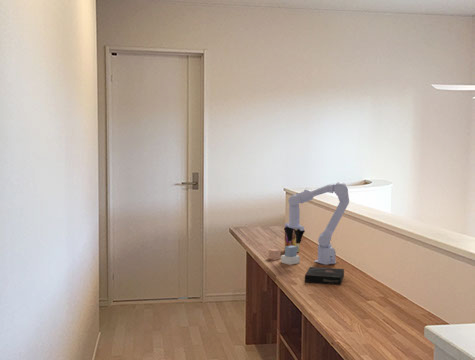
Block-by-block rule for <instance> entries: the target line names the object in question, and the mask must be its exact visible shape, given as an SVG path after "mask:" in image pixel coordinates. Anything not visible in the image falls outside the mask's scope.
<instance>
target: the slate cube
mask: <svg viewBox="0 0 475 360" xmlns="http://www.w3.org/2000/svg"><path fill="white" fill-rule="evenodd" d="M284 255H285V256H288V257H294V256H297V255H298V252H297V247H295V246H292V245H291V246H285V245H284Z"/></svg>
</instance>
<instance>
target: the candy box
mask: <svg viewBox="0 0 475 360" xmlns="http://www.w3.org/2000/svg"><path fill="white" fill-rule="evenodd" d="M284 228H286V227H285V226H284ZM294 230H297V229H294ZM294 230H293V234H292V241H288V238H287V235H286V232H285V231H284V247H285V246H291V245H292V246H295V247H297V253H301V252H300V248H301V246H300V244H301V242H300V243H297V242H296V235H295V232H294Z"/></svg>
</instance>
